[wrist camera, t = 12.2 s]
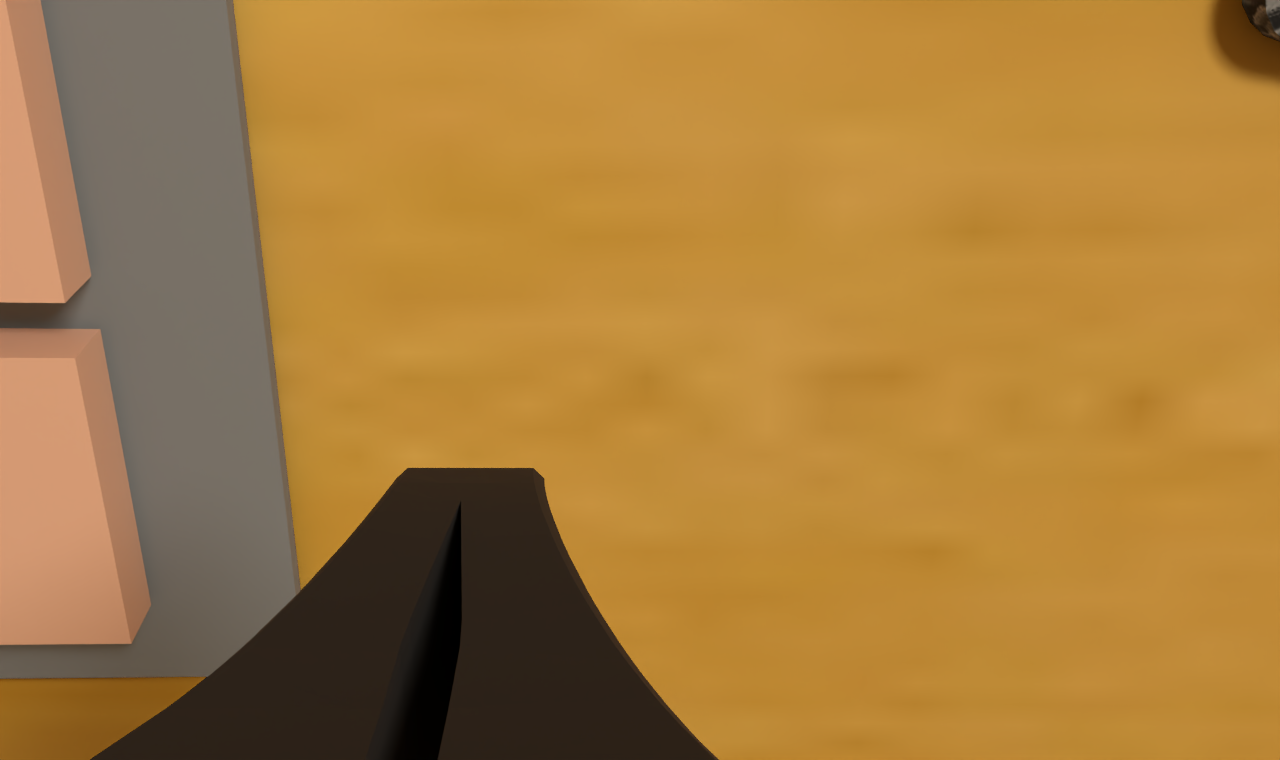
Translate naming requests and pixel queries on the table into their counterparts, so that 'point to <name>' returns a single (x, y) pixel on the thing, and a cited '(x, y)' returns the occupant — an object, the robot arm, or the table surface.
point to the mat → (173, 327)
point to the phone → (1264, 16)
